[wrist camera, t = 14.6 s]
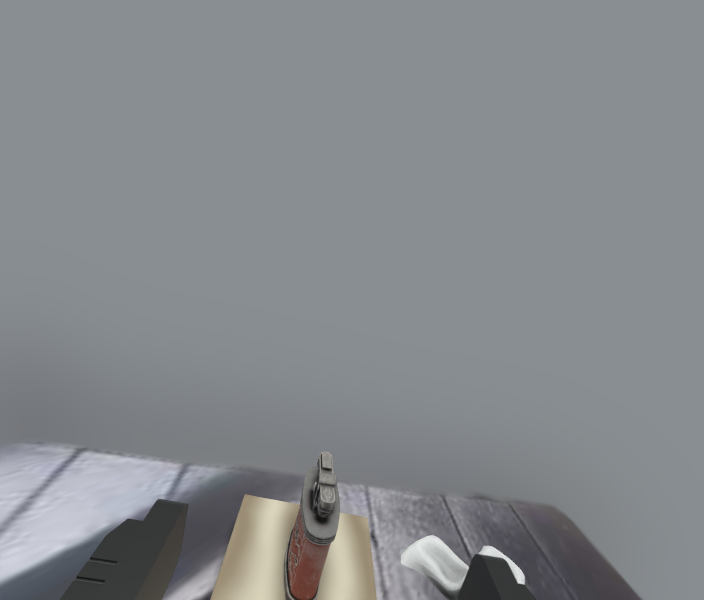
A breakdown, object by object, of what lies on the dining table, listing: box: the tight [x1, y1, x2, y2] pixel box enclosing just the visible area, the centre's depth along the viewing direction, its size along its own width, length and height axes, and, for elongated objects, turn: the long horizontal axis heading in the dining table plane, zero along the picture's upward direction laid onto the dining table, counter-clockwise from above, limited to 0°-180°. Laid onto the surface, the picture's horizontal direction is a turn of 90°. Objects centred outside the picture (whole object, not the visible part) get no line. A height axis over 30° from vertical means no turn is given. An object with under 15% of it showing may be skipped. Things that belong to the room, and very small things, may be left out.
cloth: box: [401, 535, 525, 600], centre depth 37 cm, size 22×19×6 cm
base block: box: [210, 495, 377, 600], centre depth 34 cm, size 14×14×4 cm
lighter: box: [283, 452, 340, 600], centre depth 32 cm, size 8×3×10 cm, turn 6°
